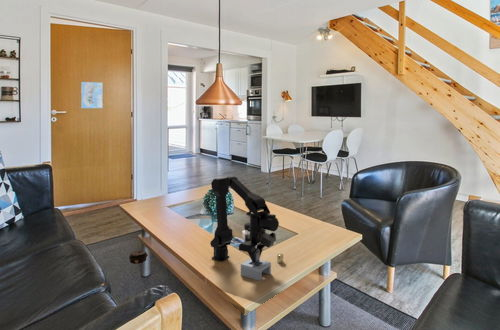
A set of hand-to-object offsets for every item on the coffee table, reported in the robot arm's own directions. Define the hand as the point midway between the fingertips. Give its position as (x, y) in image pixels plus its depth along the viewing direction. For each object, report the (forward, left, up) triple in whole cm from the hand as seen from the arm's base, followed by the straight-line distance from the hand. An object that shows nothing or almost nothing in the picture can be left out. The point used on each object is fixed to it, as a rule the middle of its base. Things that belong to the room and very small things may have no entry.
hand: (255, 261), depth 133 cm
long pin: (0, 0, -3) cm, 3 cm away
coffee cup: (-56, -18, -15) cm, 61 cm away
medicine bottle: (-25, +33, -6) cm, 41 cm away
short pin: (+4, +16, -6) cm, 18 cm away
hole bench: (0, 0, -6) cm, 6 cm away
